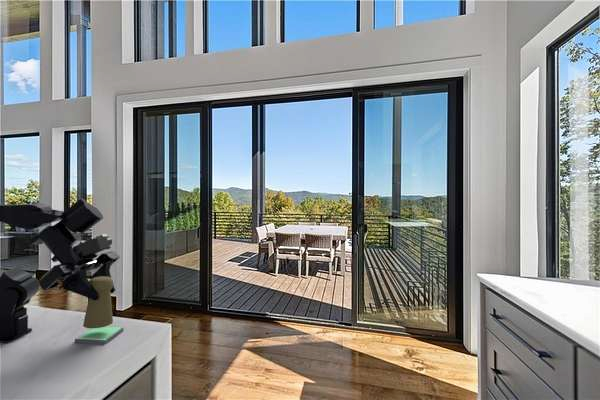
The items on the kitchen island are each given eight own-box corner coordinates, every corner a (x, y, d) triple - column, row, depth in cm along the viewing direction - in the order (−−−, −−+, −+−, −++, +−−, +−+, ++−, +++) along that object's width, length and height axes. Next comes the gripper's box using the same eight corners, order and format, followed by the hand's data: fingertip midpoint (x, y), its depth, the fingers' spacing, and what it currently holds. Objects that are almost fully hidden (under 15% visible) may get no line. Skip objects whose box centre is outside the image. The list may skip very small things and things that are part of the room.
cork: (99, 329, 72) (102, 281, 72) (76, 326, 73) (79, 278, 73) (118, 320, 78) (121, 275, 78) (97, 317, 79) (100, 273, 79)
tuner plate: (74, 342, 72) (74, 338, 72) (95, 329, 79) (95, 325, 79) (105, 344, 72) (105, 340, 72) (123, 330, 79) (123, 327, 79)
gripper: (54, 228, 66) (101, 284, 65) (114, 221, 85) (151, 265, 84) (18, 262, 67) (64, 319, 66) (85, 248, 86) (122, 292, 85)
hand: (105, 295), depth 75 cm, fingers closed on cork, 5 cm apart
